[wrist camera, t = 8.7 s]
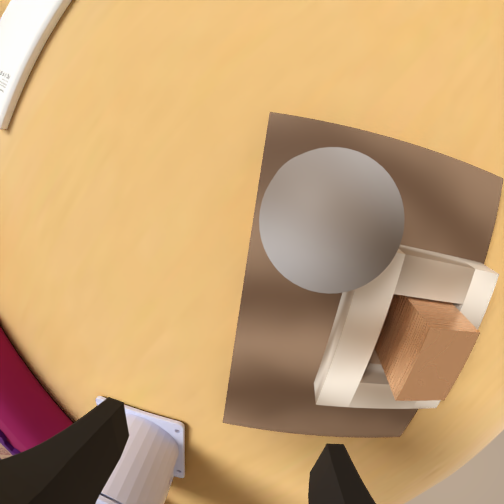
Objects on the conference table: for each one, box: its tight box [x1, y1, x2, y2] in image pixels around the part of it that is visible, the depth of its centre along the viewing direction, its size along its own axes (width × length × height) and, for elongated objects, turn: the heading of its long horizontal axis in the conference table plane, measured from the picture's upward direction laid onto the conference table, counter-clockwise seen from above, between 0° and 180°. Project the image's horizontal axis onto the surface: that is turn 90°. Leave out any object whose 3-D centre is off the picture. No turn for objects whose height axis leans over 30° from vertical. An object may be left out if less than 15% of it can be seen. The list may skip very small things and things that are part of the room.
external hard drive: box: [0, 0, 72, 129], centre depth 14 cm, size 2×8×12 cm
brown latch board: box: [223, 112, 503, 437], centre depth 14 cm, size 20×14×6 cm
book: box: [0, 326, 73, 460], centre depth 23 cm, size 21×28×8 cm
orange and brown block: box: [374, 294, 480, 401], centre depth 13 cm, size 4×3×5 cm
